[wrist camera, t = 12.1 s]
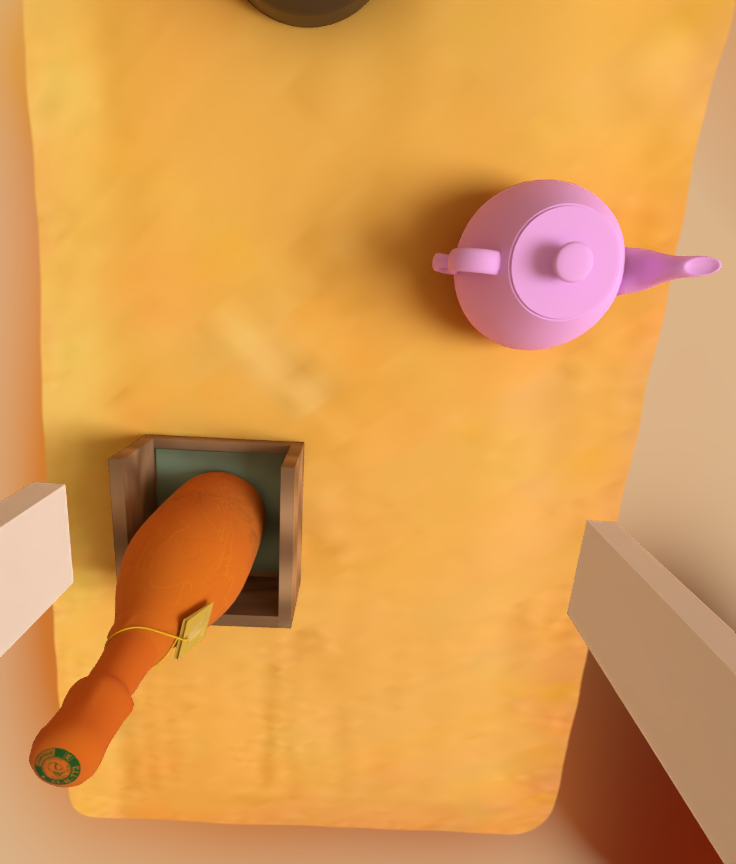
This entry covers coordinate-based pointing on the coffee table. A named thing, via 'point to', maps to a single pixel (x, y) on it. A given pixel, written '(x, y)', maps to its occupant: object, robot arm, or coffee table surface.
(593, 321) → the teapot
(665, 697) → the robot arm
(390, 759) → the coffee table surface
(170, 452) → the wooden box
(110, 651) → the wine bottle
